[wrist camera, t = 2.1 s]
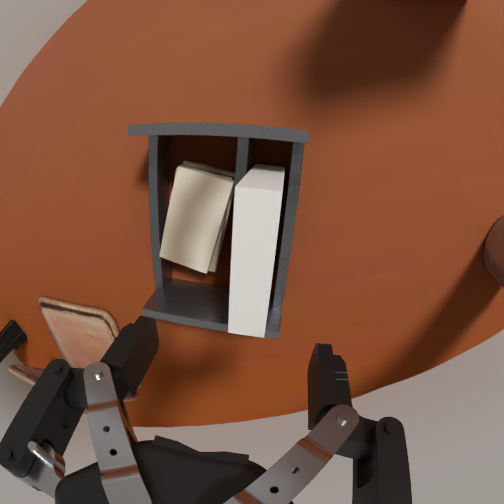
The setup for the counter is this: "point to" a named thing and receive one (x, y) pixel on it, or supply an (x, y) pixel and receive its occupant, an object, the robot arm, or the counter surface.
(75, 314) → the case
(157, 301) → the rack
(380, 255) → the counter surface
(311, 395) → the robot arm
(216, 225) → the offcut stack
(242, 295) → the tall board
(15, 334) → the portable radio
